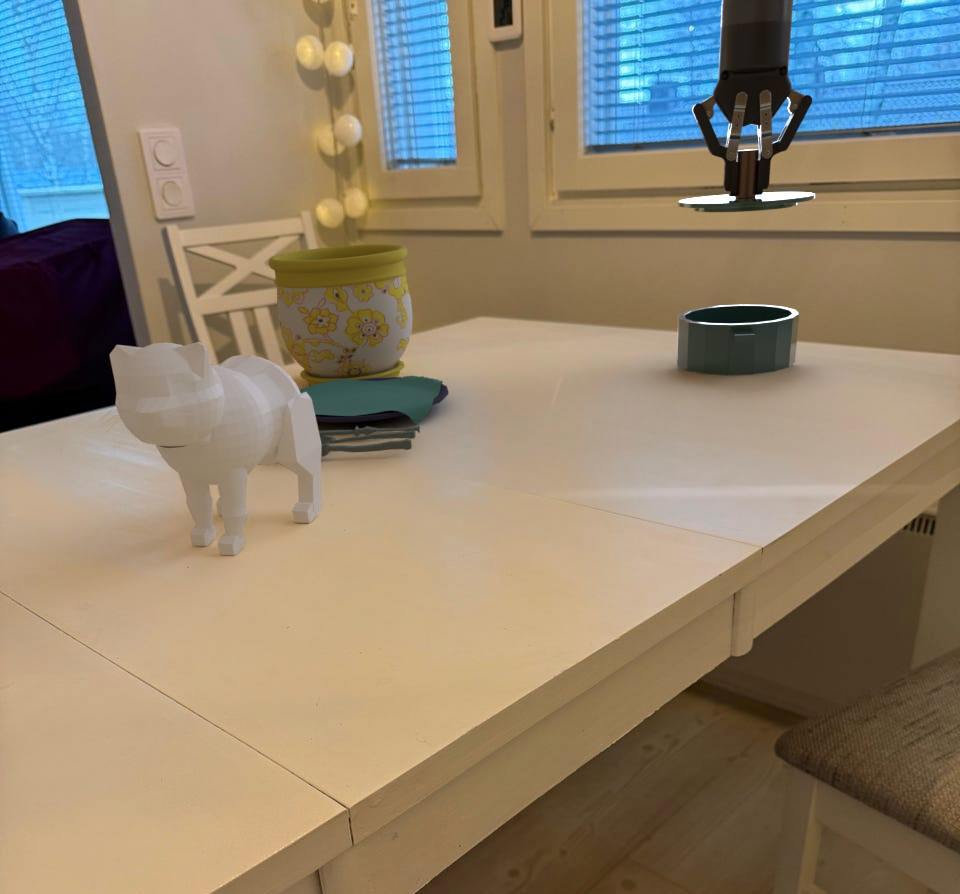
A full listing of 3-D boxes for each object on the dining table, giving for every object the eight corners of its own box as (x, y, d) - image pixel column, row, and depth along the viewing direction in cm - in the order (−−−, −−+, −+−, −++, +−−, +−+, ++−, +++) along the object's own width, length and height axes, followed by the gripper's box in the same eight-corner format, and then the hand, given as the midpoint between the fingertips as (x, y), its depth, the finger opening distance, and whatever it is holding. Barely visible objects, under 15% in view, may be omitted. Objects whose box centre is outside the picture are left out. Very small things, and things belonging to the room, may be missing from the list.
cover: (802, 199, 118) (807, 144, 115) (825, 208, 104) (831, 146, 101) (675, 207, 120) (676, 153, 117) (680, 216, 107) (682, 156, 104)
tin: (782, 348, 130) (786, 299, 127) (804, 382, 112) (810, 325, 109) (674, 353, 132) (675, 304, 129) (679, 386, 115) (681, 331, 112)
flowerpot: (330, 402, 119) (310, 263, 112) (265, 383, 132) (244, 257, 125) (444, 375, 129) (434, 246, 121) (373, 360, 142) (360, 242, 134)
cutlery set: (457, 388, 122) (455, 370, 121) (430, 457, 95) (428, 435, 94) (306, 396, 123) (303, 378, 122) (238, 466, 97) (234, 443, 96)
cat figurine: (263, 478, 93) (231, 299, 85) (362, 481, 90) (338, 296, 82) (108, 583, 72) (47, 358, 64) (231, 592, 69) (182, 357, 61)
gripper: (692, 24, 101) (687, 201, 109) (828, 11, 99) (812, 193, 107) (689, 30, 108) (684, 197, 116) (816, 19, 106) (802, 190, 114)
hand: (745, 194), depth 112 cm, fingers closed on cover, 2 cm apart
